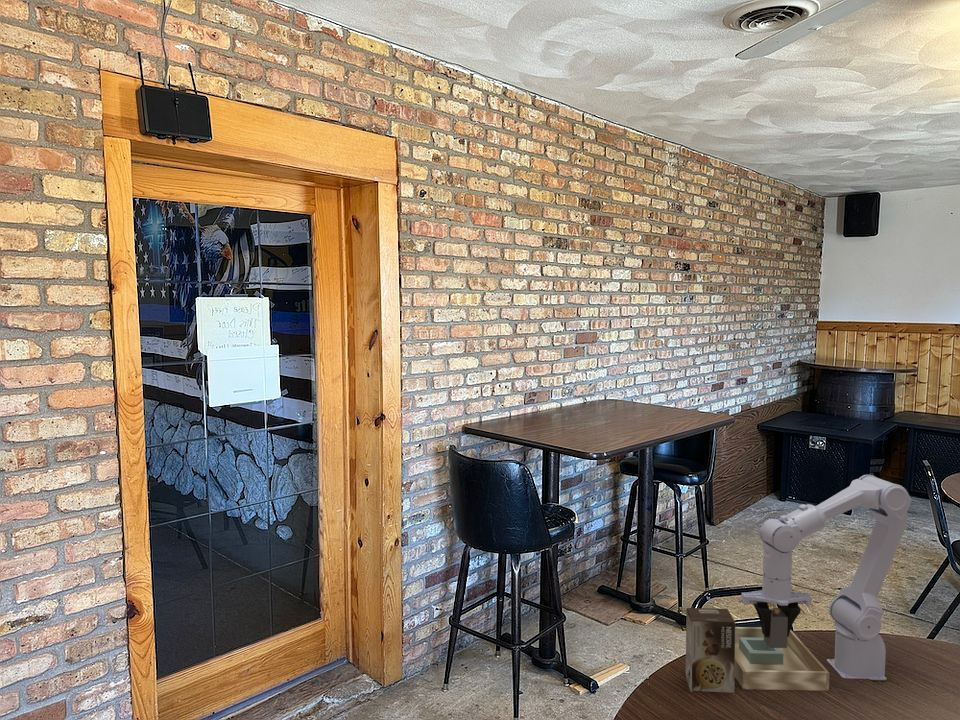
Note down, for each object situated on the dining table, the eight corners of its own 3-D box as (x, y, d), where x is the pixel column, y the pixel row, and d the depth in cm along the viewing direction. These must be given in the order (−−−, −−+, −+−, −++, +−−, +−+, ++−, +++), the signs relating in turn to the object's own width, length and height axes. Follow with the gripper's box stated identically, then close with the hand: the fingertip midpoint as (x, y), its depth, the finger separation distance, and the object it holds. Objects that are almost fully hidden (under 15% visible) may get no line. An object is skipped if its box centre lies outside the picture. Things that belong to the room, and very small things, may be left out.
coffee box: (726, 679, 147) (728, 608, 146) (734, 695, 141) (736, 621, 139) (684, 676, 148) (685, 606, 147) (690, 693, 142) (692, 619, 140)
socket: (770, 647, 159) (770, 637, 159) (783, 664, 152) (783, 653, 152) (738, 647, 160) (739, 637, 159) (750, 663, 152) (750, 653, 152)
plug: (779, 639, 149) (780, 605, 149) (786, 648, 146) (788, 612, 145) (763, 639, 149) (764, 605, 149) (770, 647, 146) (771, 612, 145)
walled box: (788, 645, 161) (789, 627, 161) (828, 693, 141) (829, 672, 141) (713, 644, 162) (713, 626, 162) (742, 691, 142) (743, 671, 142)
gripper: (750, 582, 142) (748, 643, 144) (819, 582, 142) (817, 644, 143) (738, 569, 150) (737, 628, 151) (804, 569, 149) (802, 628, 150)
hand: (775, 635), depth 147 cm, fingers closed on plug, 4 cm apart
